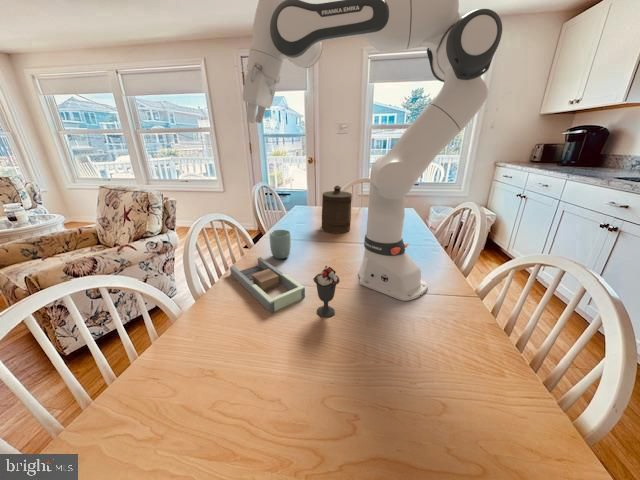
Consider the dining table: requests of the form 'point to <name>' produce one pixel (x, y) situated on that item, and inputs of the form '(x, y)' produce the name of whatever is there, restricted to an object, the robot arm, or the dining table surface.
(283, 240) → the cup
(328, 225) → the wooden container
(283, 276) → the box
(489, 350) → the dining table surface
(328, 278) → the sundae
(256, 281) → the block
